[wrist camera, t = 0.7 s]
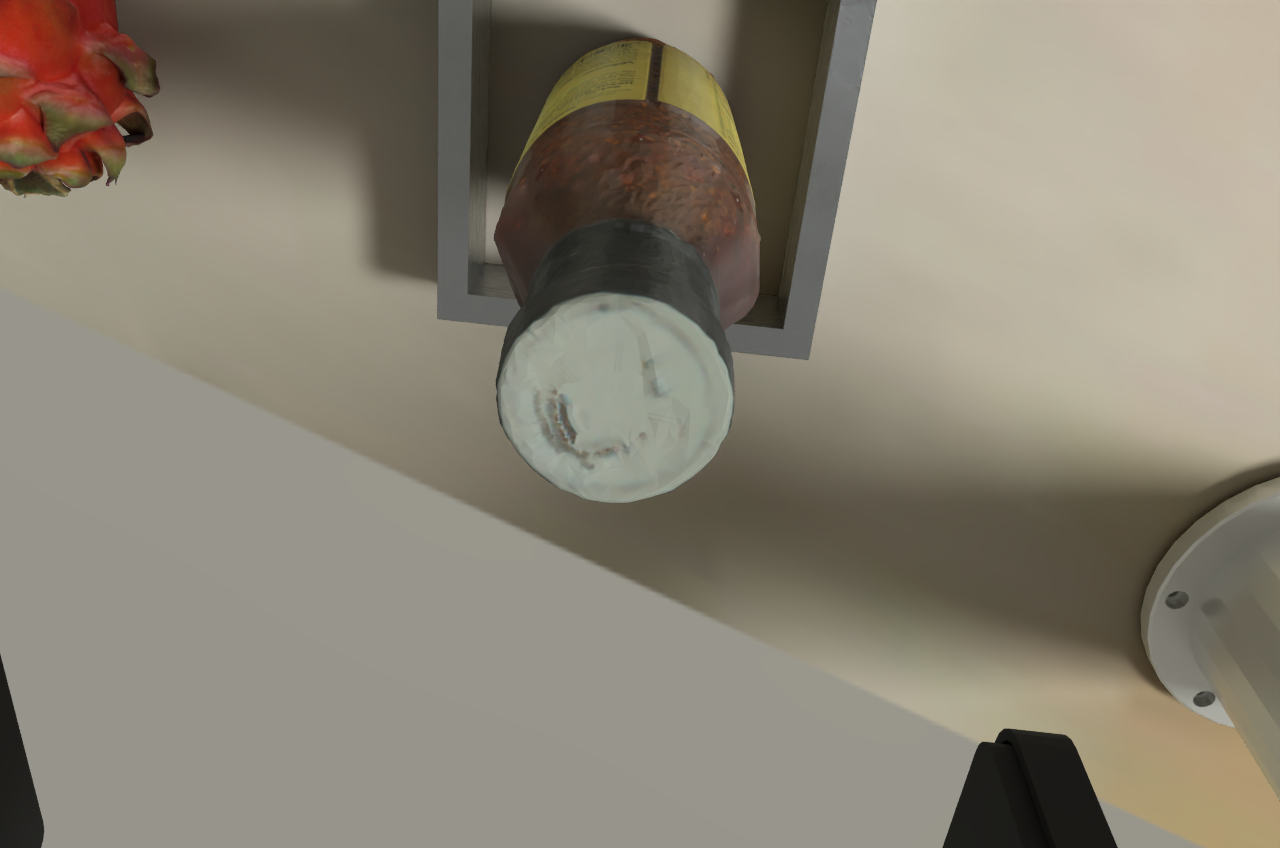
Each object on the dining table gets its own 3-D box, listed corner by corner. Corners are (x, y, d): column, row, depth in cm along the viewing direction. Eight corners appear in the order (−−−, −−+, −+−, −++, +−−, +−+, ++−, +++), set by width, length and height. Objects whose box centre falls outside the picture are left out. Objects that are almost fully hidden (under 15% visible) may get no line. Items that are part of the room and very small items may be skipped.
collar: (870, -55, 32) (885, -47, 29) (801, 325, 38) (808, 360, 35) (460, -99, 32) (438, -96, 29) (456, 286, 38) (437, 318, 35)
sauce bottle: (532, 196, 36) (366, 514, 19) (567, 8, 33) (411, 173, 16) (716, 242, 36) (723, 594, 19) (767, 59, 33) (833, 278, 16)
